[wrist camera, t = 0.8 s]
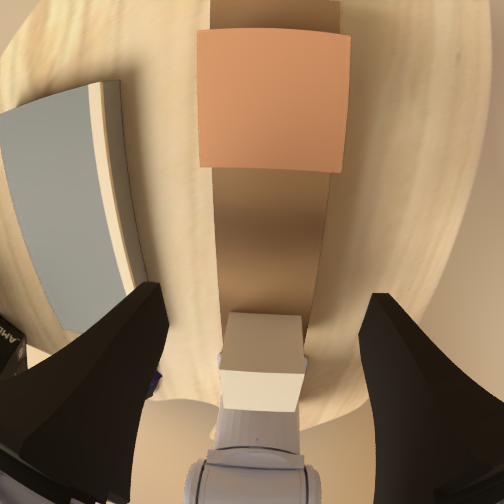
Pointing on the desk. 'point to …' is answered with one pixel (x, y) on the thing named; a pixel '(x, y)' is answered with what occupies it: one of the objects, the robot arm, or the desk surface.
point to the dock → (74, 199)
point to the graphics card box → (11, 351)
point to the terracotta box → (272, 98)
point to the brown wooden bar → (270, 195)
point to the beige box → (262, 362)
